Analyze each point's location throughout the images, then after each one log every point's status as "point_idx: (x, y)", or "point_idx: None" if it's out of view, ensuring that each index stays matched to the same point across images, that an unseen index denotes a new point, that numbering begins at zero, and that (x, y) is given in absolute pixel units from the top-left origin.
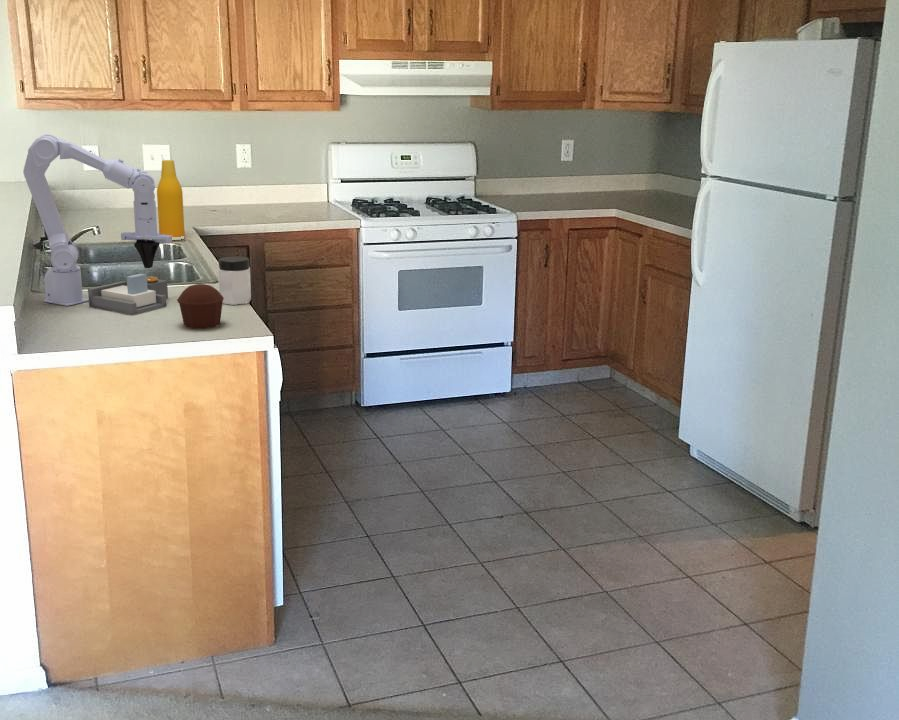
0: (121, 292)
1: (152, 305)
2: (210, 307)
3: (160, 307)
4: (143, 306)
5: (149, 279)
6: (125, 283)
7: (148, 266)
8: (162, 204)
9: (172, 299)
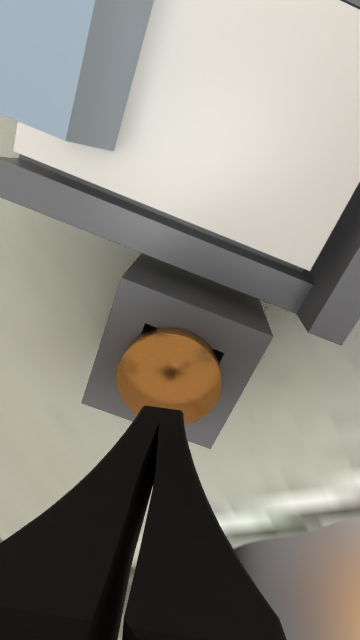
0: (229, 3)
1: None
2: None
3: None
4: None
5: (145, 344)
6: (311, 318)
7: (139, 414)
8: None
9: (82, 339)
